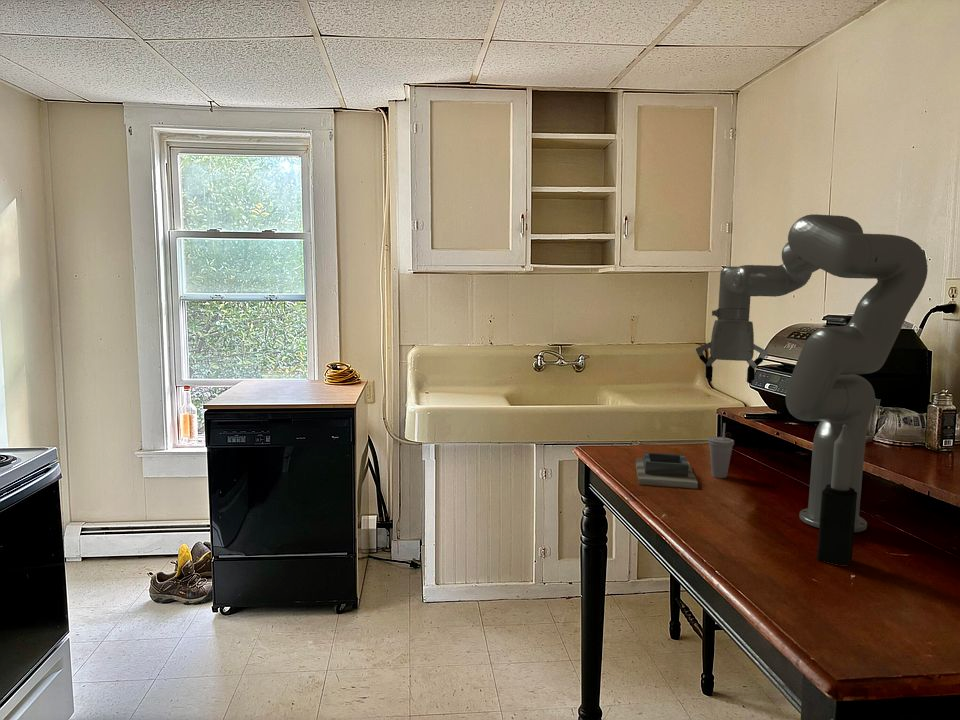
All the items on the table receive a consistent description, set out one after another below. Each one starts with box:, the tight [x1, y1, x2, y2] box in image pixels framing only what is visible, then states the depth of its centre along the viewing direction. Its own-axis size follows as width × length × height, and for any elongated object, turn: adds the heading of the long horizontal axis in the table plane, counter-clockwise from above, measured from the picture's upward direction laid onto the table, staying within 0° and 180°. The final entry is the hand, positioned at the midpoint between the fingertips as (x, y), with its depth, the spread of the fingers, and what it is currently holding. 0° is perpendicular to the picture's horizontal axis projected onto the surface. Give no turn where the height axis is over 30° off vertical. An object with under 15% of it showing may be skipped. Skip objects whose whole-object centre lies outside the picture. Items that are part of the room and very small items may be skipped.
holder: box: [635, 451, 699, 490], centre depth 174 cm, size 20×14×4 cm
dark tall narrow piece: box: [816, 425, 857, 566], centre depth 121 cm, size 5×5×25 cm
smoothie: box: [708, 422, 735, 479], centre depth 174 cm, size 6×6×14 cm
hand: (729, 382), depth 173 cm, fingers open, 9 cm apart
